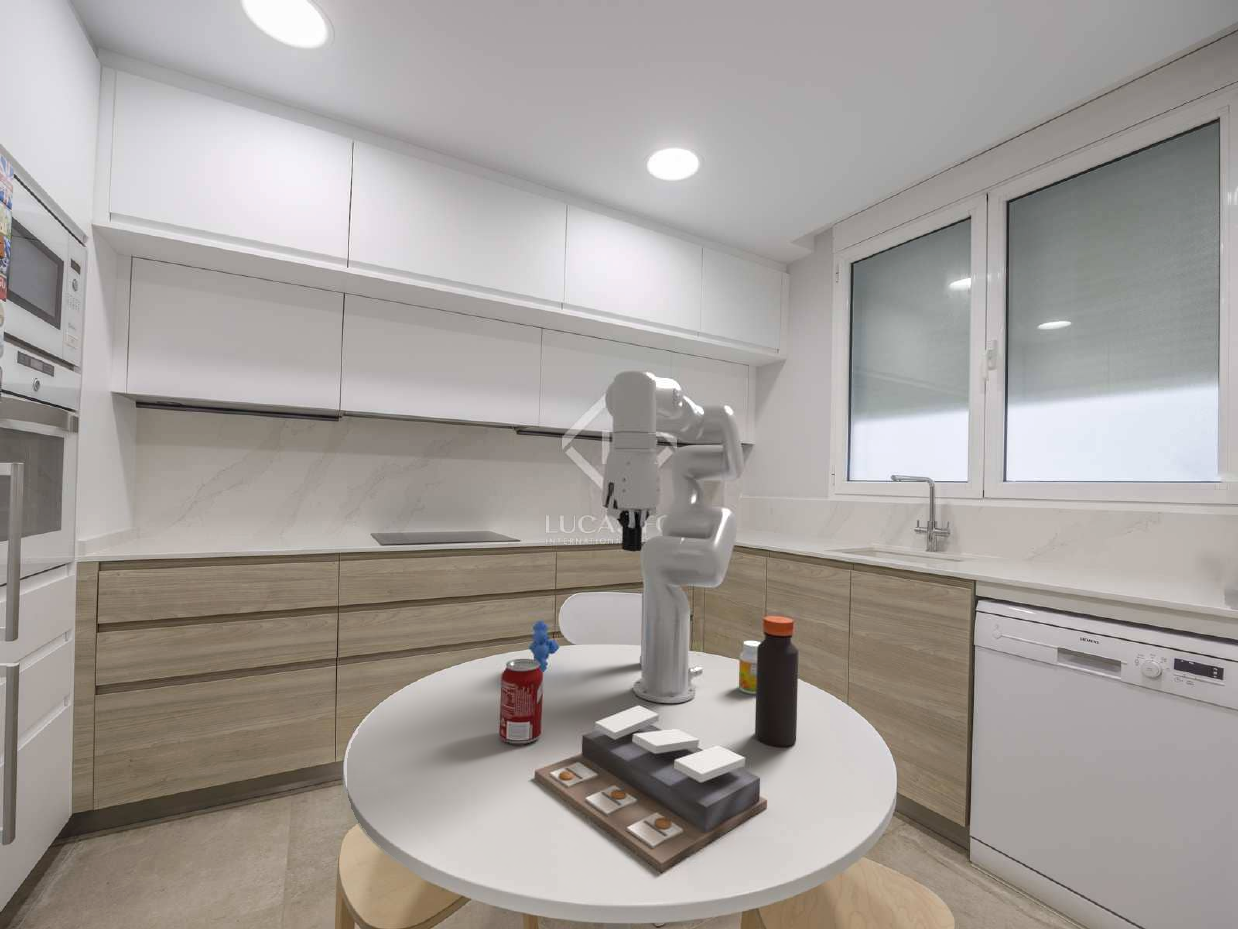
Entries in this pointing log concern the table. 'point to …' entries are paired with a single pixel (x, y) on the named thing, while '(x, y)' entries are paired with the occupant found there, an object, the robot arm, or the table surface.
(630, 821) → the rocker switch unit
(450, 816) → the table surface
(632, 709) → the rocker far
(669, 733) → the rocker middle
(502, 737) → the soda can
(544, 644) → the grapes
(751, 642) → the supplement bottle
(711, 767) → the rocker near
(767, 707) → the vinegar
